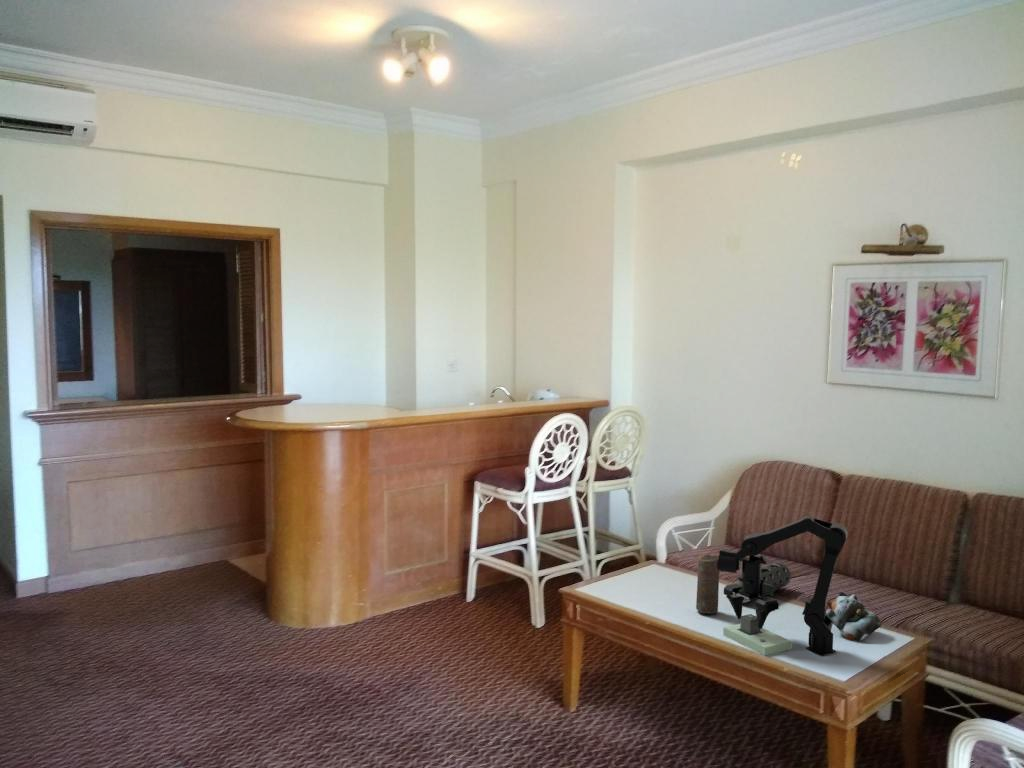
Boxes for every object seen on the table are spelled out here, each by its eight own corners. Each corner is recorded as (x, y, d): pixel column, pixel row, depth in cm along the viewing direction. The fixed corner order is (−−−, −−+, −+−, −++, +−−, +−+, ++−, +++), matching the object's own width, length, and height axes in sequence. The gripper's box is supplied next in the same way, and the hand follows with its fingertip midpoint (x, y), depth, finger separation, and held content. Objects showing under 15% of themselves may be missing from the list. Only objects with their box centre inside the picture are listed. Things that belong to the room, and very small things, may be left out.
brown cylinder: (720, 616, 273) (722, 559, 271) (699, 616, 273) (700, 558, 271) (714, 609, 280) (716, 552, 279) (693, 608, 280) (695, 552, 279)
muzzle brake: (791, 592, 300) (792, 564, 299) (754, 610, 280) (755, 580, 279) (767, 586, 307) (768, 559, 306) (729, 603, 287) (730, 574, 286)
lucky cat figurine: (855, 644, 249) (834, 602, 252) (832, 646, 260) (811, 605, 263) (890, 625, 254) (869, 583, 258) (866, 627, 265) (845, 587, 268)
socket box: (791, 649, 246) (791, 640, 245) (764, 655, 241) (765, 646, 240) (749, 629, 262) (749, 621, 261) (723, 635, 256) (723, 626, 256)
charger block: (759, 640, 253) (760, 617, 252) (749, 642, 251) (750, 619, 250) (750, 635, 256) (750, 612, 256) (740, 637, 255) (740, 614, 254)
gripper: (792, 580, 248) (791, 629, 249) (749, 564, 264) (747, 610, 265) (766, 585, 243) (764, 635, 244) (723, 568, 259) (721, 615, 260)
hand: (749, 623), depth 253 cm, fingers open, 9 cm apart
